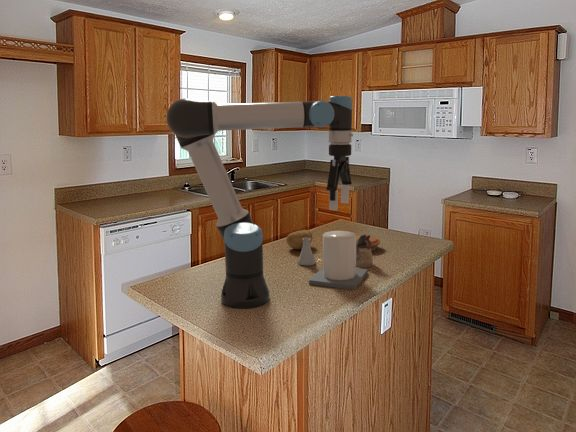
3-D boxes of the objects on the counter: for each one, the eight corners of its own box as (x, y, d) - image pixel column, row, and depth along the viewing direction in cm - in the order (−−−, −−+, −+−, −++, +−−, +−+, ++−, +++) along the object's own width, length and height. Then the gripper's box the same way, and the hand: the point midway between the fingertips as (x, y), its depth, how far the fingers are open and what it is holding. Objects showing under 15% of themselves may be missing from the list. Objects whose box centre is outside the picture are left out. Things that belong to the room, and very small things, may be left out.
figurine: (361, 260, 191) (362, 231, 188) (376, 264, 186) (377, 234, 183) (350, 264, 186) (350, 234, 183) (365, 268, 181) (365, 237, 178)
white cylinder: (350, 281, 163) (350, 239, 160) (318, 277, 167) (318, 237, 164) (358, 271, 173) (359, 232, 170) (328, 268, 177) (328, 229, 174)
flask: (314, 266, 184) (314, 241, 182) (295, 265, 186) (295, 240, 184) (317, 261, 191) (317, 236, 189) (299, 260, 192) (299, 236, 190)
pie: (355, 242, 219) (356, 231, 218) (386, 247, 209) (387, 236, 208) (336, 249, 207) (337, 238, 206) (368, 256, 197) (369, 244, 196)
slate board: (354, 290, 159) (354, 285, 159) (309, 284, 165) (309, 280, 165) (367, 273, 175) (367, 269, 175) (325, 268, 181) (325, 264, 181)
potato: (318, 246, 212) (318, 229, 210) (299, 254, 201) (299, 235, 199) (301, 243, 218) (300, 226, 216) (281, 250, 207) (281, 232, 205)
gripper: (340, 146, 148) (339, 214, 152) (360, 141, 170) (359, 201, 175) (317, 145, 151) (316, 212, 155) (340, 141, 173) (339, 199, 177)
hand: (339, 206), depth 165 cm, fingers open, 13 cm apart
